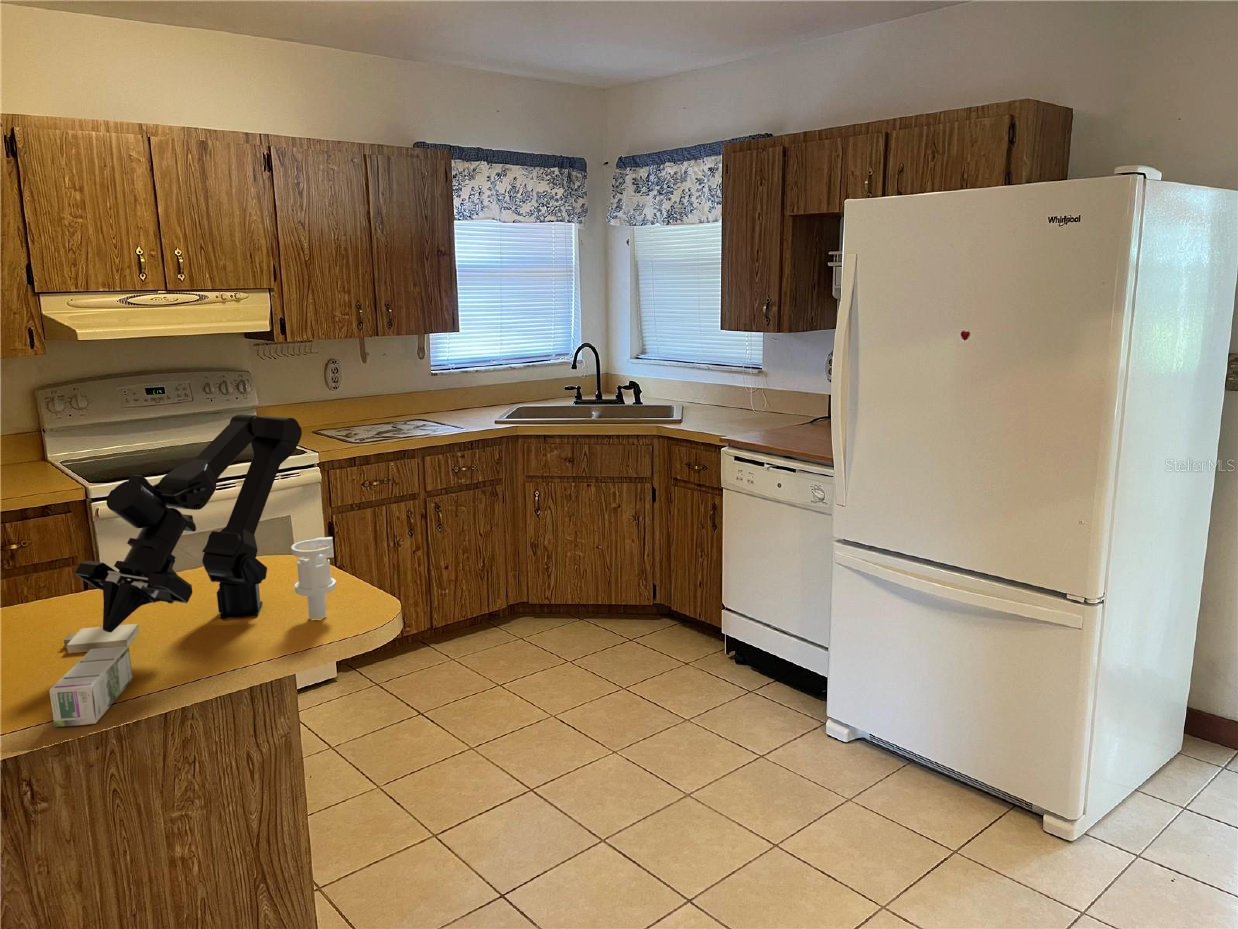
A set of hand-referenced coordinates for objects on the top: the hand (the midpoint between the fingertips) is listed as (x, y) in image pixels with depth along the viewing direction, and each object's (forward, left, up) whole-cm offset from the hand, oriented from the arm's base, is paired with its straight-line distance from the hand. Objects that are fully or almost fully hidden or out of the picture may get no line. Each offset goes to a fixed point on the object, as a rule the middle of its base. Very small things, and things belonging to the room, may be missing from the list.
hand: (106, 631), depth 137 cm
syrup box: (0, +1, -5) cm, 5 cm away
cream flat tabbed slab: (+6, -15, -8) cm, 18 cm away
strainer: (-29, -18, -8) cm, 35 cm away
